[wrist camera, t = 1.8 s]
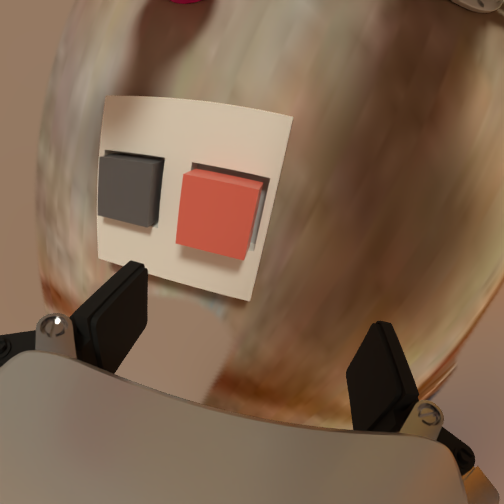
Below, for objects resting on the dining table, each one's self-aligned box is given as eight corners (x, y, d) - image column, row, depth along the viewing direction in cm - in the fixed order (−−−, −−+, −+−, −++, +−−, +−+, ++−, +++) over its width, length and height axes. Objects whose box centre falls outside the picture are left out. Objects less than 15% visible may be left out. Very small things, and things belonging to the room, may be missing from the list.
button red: (263, 182, 20) (259, 189, 17) (249, 246, 22) (244, 260, 20) (195, 168, 20) (183, 174, 18) (187, 231, 22) (175, 243, 20)
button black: (166, 159, 21) (152, 164, 19) (160, 217, 24) (147, 227, 21) (116, 152, 22) (99, 156, 19) (113, 206, 24) (97, 215, 21)
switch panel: (293, 118, 20) (293, 116, 18) (254, 283, 27) (249, 301, 24) (124, 97, 21) (105, 95, 18) (114, 245, 27) (98, 258, 25)
